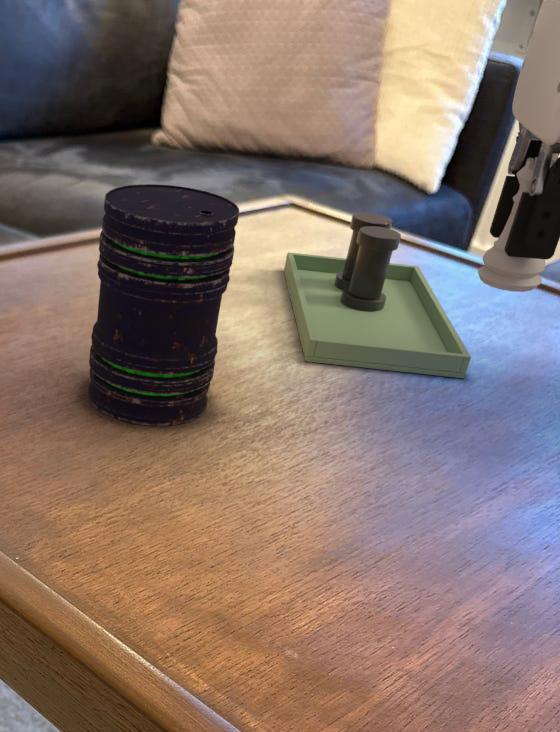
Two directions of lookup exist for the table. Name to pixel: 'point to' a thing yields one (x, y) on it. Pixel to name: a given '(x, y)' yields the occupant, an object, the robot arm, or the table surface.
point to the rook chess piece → (504, 268)
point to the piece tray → (373, 321)
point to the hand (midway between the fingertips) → (520, 244)
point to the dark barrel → (159, 301)
